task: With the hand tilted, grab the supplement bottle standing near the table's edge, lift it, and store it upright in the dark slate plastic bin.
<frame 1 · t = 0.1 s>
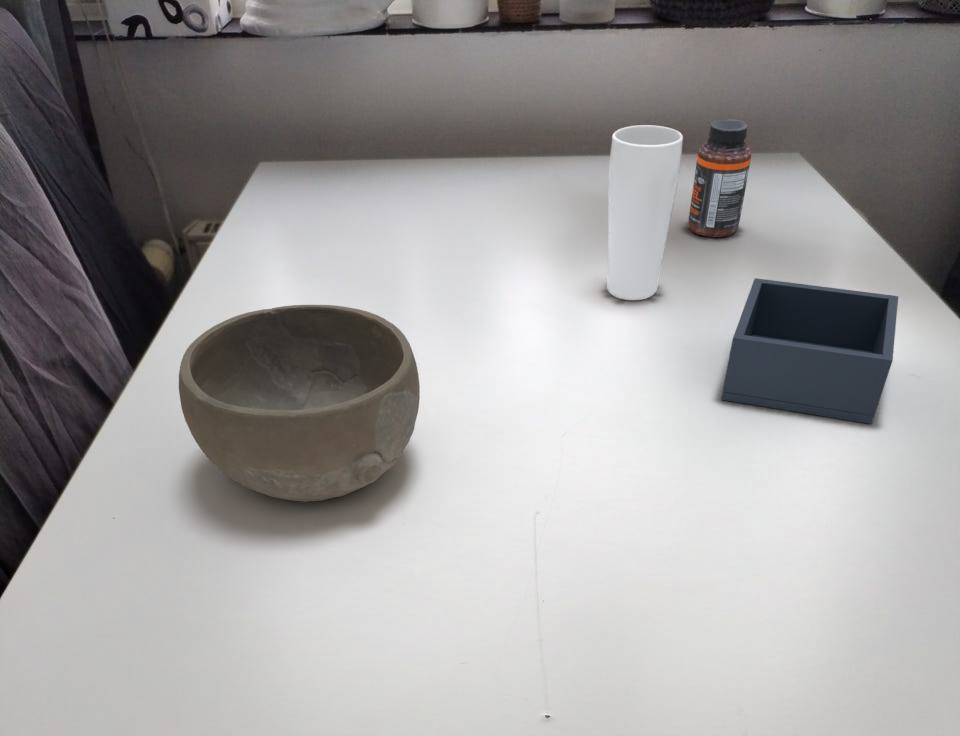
supplement bottle: (712, 231, 106), on the table
bin: (802, 377, 81), on the table
drinking glass: (631, 293, 94), on the table
bowl: (315, 468, 72), on the table
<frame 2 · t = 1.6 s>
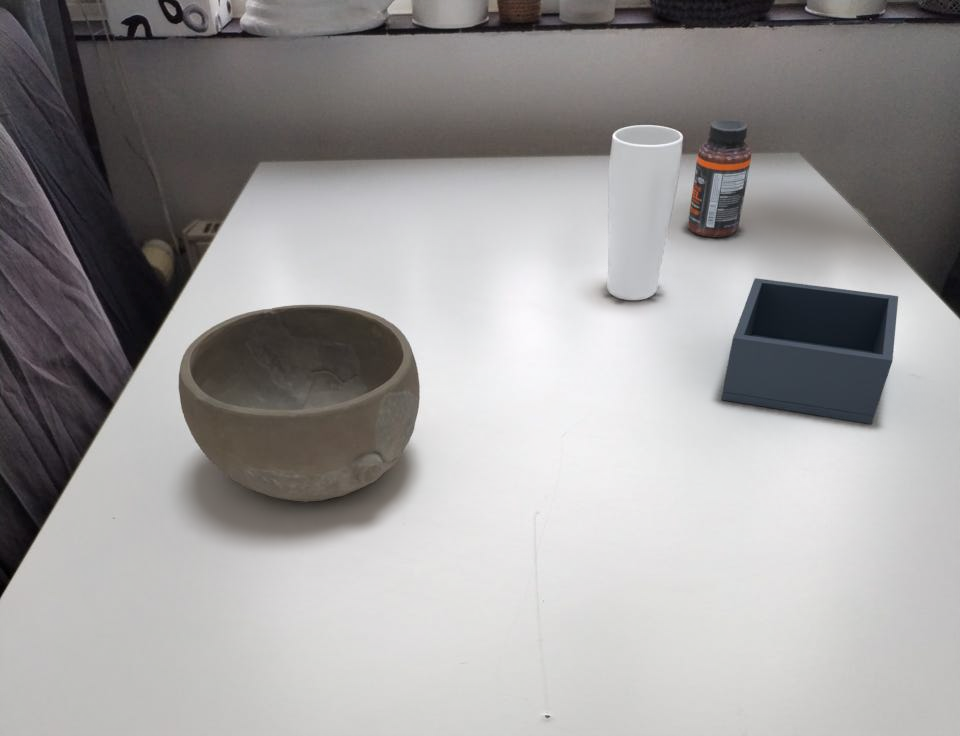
nothing on the table moved.
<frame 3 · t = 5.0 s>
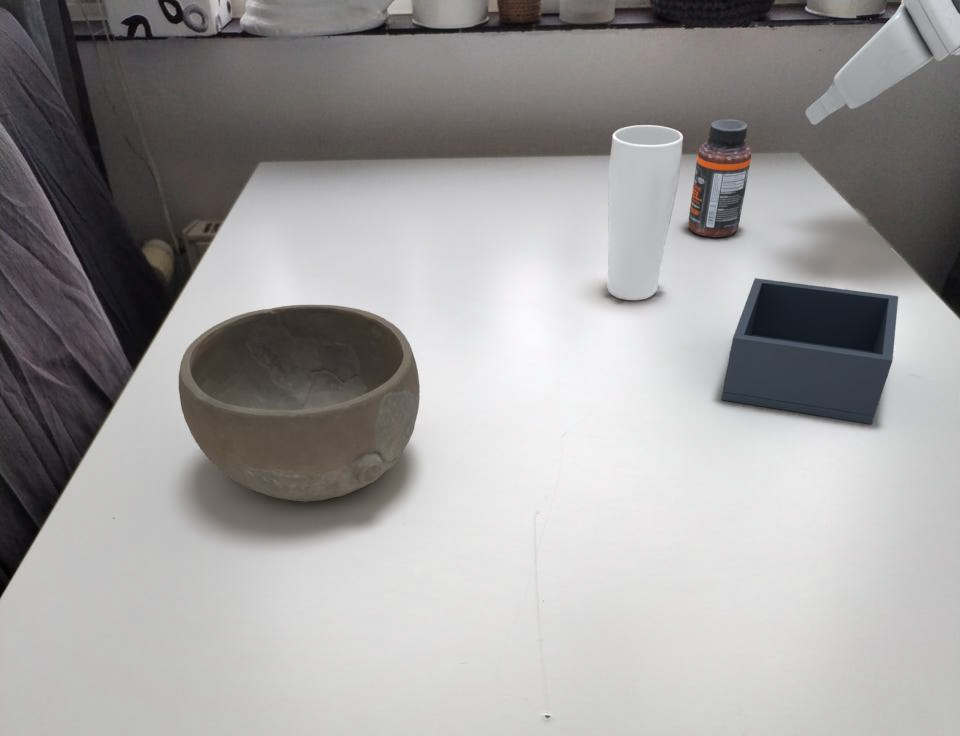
hand: (821, 105, 94), 14 cm above the table, tool tilted 45°, fingers open, 8 cm apart
nothing on the table moved.
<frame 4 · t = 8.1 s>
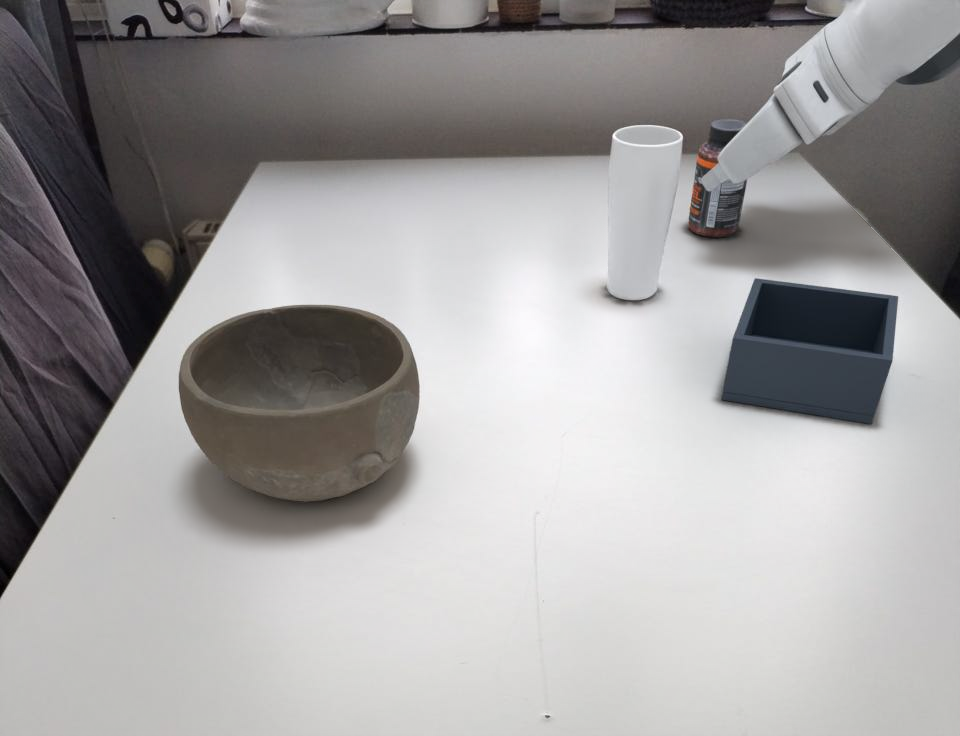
hand: (715, 174, 102), 6 cm above the table, tool tilted 45°, fingers closed on supplement bottle, 6 cm apart
supplement bottle: (712, 231, 106), on the table, touching gripper
everything else where it was.
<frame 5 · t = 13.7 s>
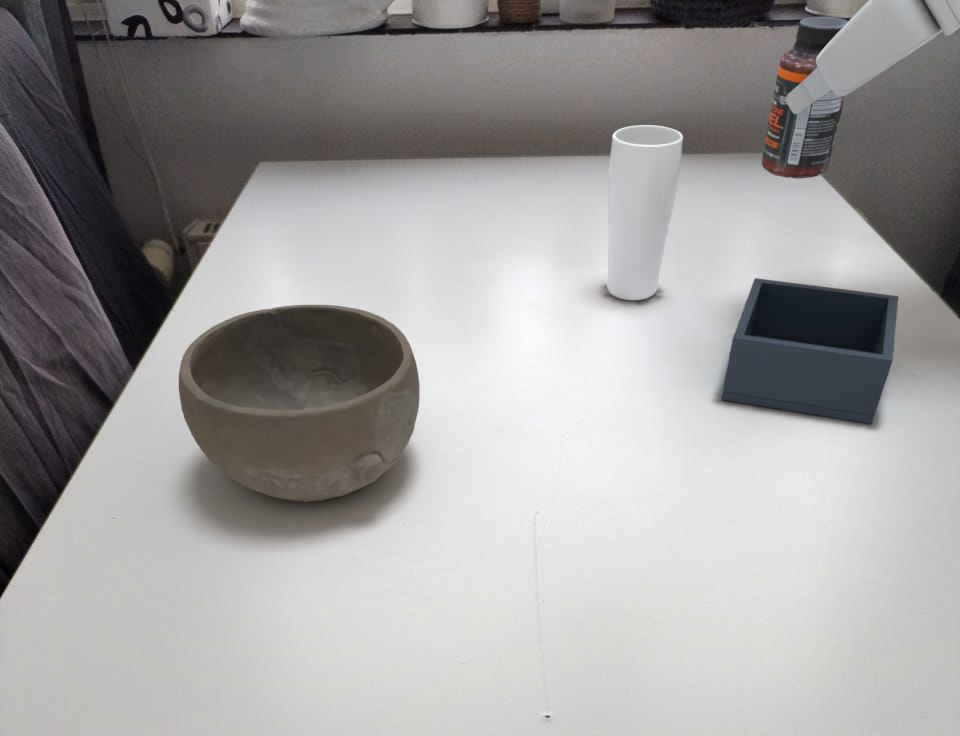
hand: (801, 94, 77), 19 cm above the table, tool tilted 45°, fingers closed on supplement bottle, 6 cm apart
supplement bottle: (792, 172, 81), point 13 cm above the table, touching gripper
everything else where it was.
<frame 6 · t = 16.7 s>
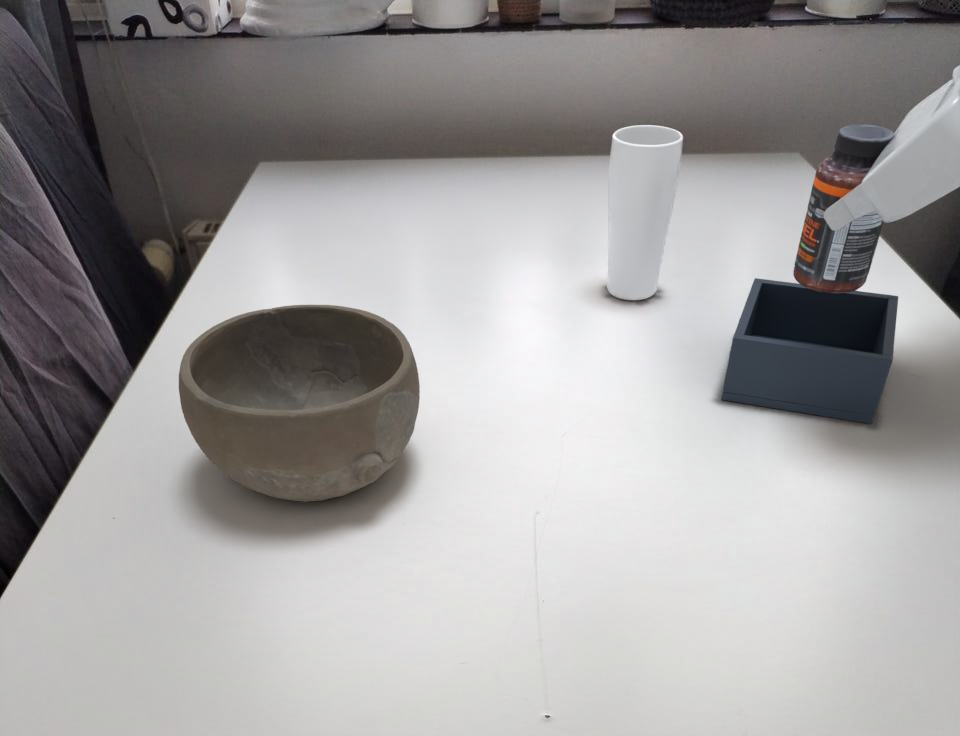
hand: (839, 206, 70), 15 cm above the table, tool tilted 45°, fingers closed on supplement bottle, 6 cm apart
supplement bottle: (827, 284, 75), point 9 cm above the table, touching gripper
everything else where it was.
when the fingers open (7 cm above the table, at t = 19.5 s): supplement bottle stays where it is, resting on bin.
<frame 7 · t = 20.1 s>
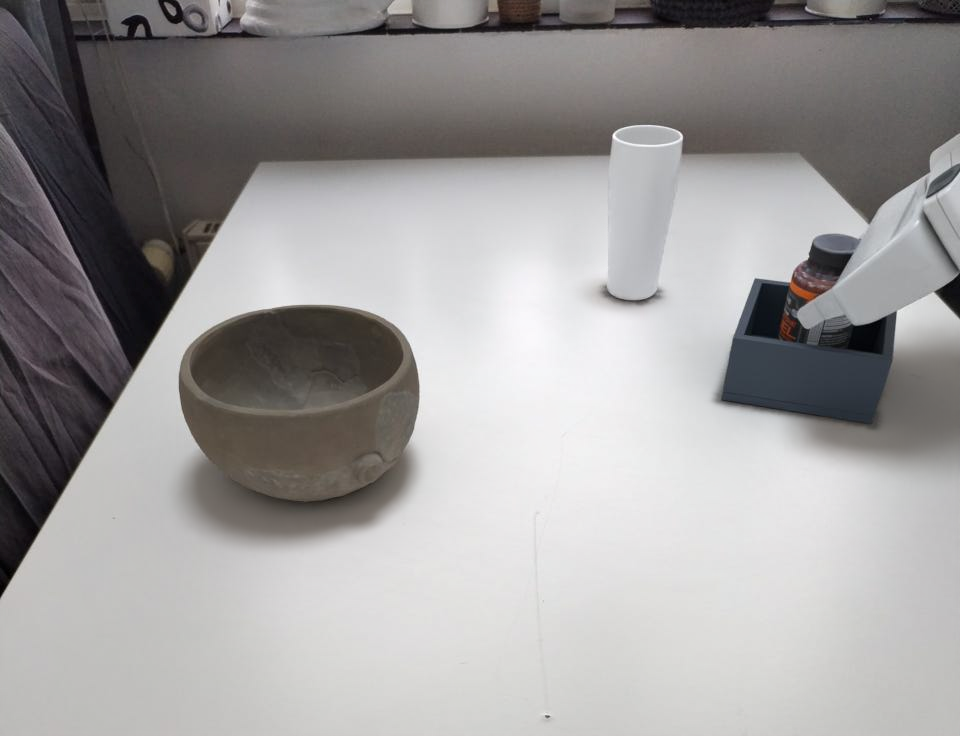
hand: (815, 296, 76), 7 cm above the table, tool tilted 45°, fingers open, 8 cm apart
supplement bottle: (804, 372, 80), point 1 cm above the table, touching bin
everything else where it was.
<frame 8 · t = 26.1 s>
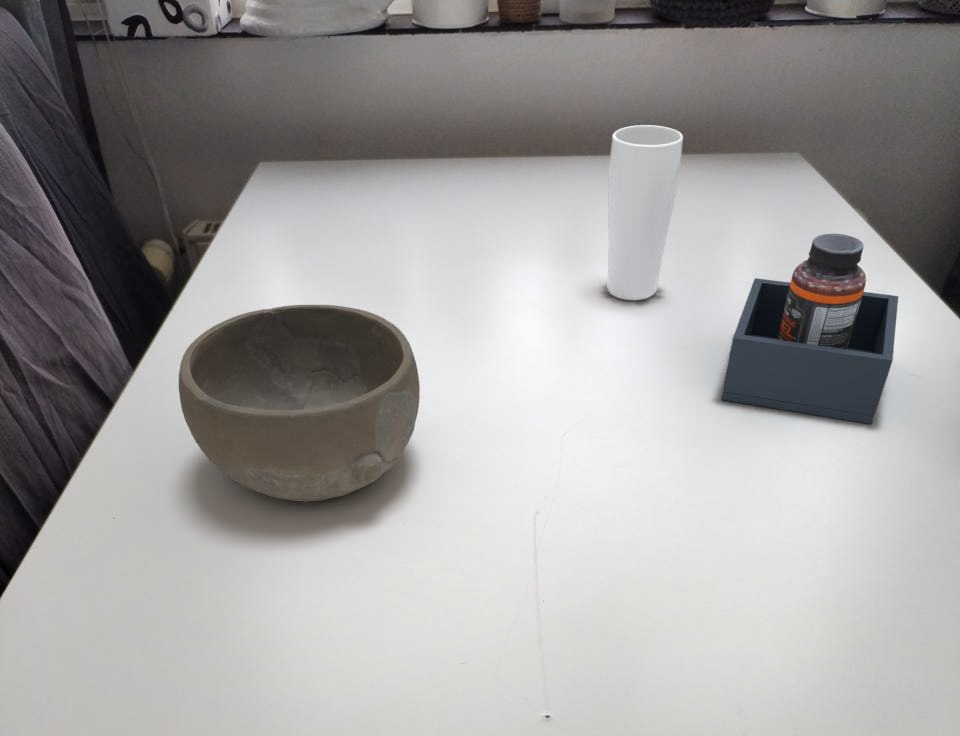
nothing on the table moved.
at the end: supplement bottle inside the target area in the bin (0.1 cm from its centre), point 0.6 cm above the bin's base; supplement bottle tilted 0°; the gripper is holding nothing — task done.
